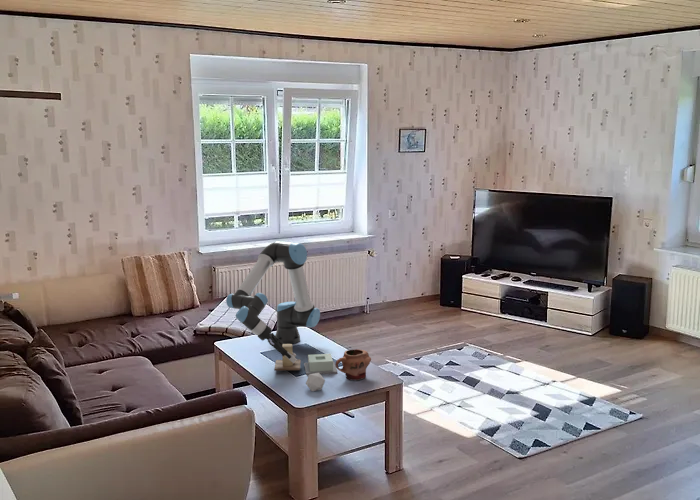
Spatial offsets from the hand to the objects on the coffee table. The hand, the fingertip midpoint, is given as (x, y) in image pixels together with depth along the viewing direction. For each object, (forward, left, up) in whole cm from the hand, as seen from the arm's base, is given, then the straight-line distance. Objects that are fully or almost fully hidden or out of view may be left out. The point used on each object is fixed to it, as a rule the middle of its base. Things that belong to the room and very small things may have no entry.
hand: (294, 359), depth 338 cm
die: (+28, +8, -6) cm, 30 cm away
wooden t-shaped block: (0, -4, -3) cm, 5 cm away
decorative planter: (+16, +28, -6) cm, 33 cm away
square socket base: (0, +13, -6) cm, 15 cm away
